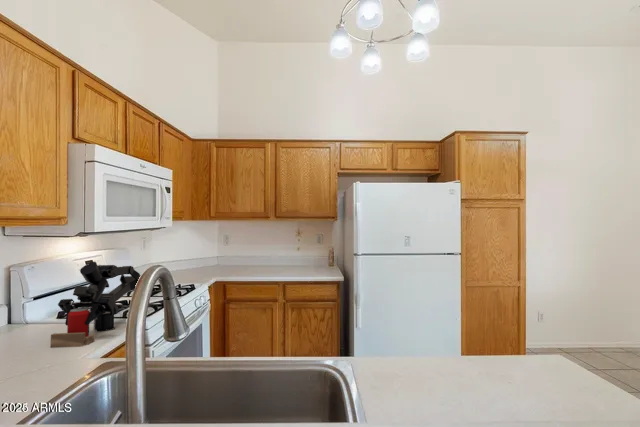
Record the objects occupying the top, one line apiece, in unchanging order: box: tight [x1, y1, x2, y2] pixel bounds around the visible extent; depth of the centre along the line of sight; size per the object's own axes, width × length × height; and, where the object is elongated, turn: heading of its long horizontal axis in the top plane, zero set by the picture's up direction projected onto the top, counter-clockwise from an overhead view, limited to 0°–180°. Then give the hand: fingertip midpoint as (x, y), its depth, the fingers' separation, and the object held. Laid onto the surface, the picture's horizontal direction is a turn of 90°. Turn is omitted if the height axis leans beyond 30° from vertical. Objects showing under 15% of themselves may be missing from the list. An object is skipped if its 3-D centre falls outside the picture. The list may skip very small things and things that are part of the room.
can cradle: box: [50, 332, 95, 348], centre depth 122 cm, size 6×12×4 cm, turn 93°
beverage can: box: [66, 307, 91, 337], centre depth 126 cm, size 7×7×12 cm
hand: (76, 324), depth 124 cm, fingers closed on beverage can, 7 cm apart
